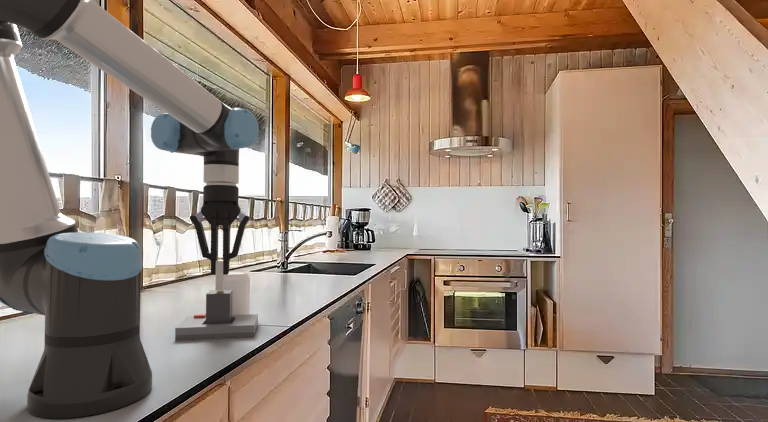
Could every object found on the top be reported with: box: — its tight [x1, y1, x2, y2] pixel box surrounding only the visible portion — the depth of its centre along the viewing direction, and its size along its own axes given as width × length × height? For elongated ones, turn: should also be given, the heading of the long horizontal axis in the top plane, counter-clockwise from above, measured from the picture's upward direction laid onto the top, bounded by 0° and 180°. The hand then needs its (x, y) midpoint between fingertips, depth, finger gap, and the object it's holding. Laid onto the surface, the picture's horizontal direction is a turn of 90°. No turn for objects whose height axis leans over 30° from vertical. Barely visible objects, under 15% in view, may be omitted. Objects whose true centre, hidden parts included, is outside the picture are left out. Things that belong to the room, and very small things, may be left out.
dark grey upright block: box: [205, 289, 233, 324], centre depth 102 cm, size 5×5×8 cm
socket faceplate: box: [174, 313, 259, 341], centre depth 102 cm, size 11×16×3 cm
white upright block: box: [223, 270, 251, 315], centre depth 113 cm, size 8×8×12 cm
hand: (219, 289), depth 102 cm, fingers closed
